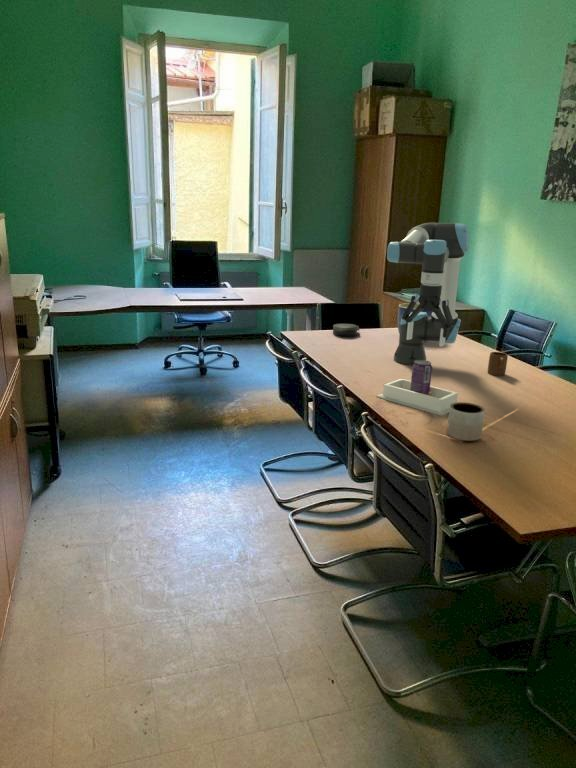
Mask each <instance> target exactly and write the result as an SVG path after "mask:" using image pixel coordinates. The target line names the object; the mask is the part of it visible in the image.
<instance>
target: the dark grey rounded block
mask: <svg viewBox="0 0 576 768" xmlns="http://www.w3.org/2000/svg"><path fill="white" fill-rule="evenodd" d="M332 329H333V330H332V334H333V336H335V337H339V338H344V339H347V338H348V339H350V338H351V339H353V338H356V337H357V335H358V331H360V327H359V325H356V324H353V323H336V324H333V325H332Z"/></svg>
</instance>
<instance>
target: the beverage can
mask: <svg viewBox="0 0 576 768" xmlns="http://www.w3.org/2000/svg"><path fill="white" fill-rule="evenodd" d="M432 371H433V366H432V362H431V361H429V360H427V359H426V360H416V361H414V364H413V365H412V371H411V378H410V379H411V380H410V381H411V387H410V391H414V392H417V393H421V394H427V393H429V391H430V386H431V381H432Z"/></svg>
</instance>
